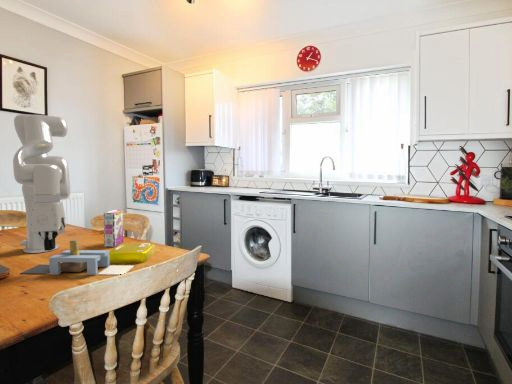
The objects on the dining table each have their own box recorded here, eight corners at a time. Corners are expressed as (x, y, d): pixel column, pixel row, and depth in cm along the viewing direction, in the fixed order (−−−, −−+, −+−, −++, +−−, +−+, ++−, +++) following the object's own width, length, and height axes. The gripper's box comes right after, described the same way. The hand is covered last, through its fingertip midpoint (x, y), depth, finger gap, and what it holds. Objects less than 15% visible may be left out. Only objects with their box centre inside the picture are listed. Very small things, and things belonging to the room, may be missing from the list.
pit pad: (20, 273, 100) (20, 273, 100) (39, 265, 109) (39, 264, 109) (46, 274, 100) (45, 273, 100) (63, 265, 109) (63, 264, 109)
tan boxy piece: (60, 271, 101) (59, 242, 101) (70, 266, 107) (69, 238, 106) (80, 271, 101) (79, 242, 101) (89, 266, 107) (88, 238, 106)
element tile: (121, 252, 127) (121, 242, 127) (156, 252, 128) (155, 242, 128) (106, 264, 112) (105, 252, 112) (145, 263, 113) (144, 251, 113)
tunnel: (49, 274, 100) (49, 257, 99) (67, 265, 109) (66, 249, 108) (95, 275, 100) (95, 258, 99) (109, 265, 109) (109, 250, 109)
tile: (97, 274, 100) (97, 273, 100) (110, 266, 109) (110, 265, 109) (123, 275, 100) (123, 274, 100) (134, 266, 109) (134, 265, 109)
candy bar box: (115, 247, 134) (114, 212, 132) (104, 247, 133) (102, 212, 132) (124, 241, 145) (123, 209, 144) (113, 241, 145) (112, 209, 143)
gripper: (17, 200, 98) (20, 252, 100) (61, 200, 98) (63, 252, 100) (34, 198, 106) (37, 246, 107) (75, 198, 106) (77, 246, 107)
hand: (50, 249), depth 103 cm, fingers closed
